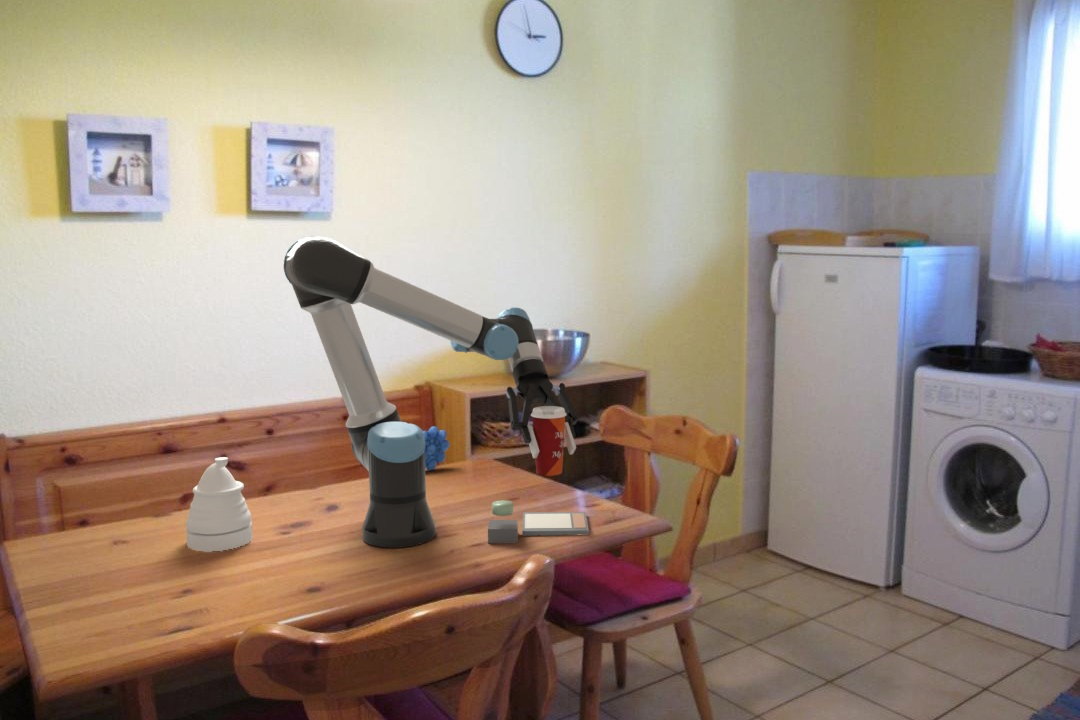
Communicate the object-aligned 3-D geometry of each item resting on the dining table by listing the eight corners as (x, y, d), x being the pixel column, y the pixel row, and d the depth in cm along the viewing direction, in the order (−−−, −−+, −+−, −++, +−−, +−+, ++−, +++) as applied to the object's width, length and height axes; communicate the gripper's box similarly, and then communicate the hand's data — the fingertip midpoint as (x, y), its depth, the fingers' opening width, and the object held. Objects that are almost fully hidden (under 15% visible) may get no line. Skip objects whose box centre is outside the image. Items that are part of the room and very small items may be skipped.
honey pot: (265, 538, 190) (261, 454, 187) (213, 556, 179) (208, 468, 177) (226, 528, 197) (221, 447, 195) (174, 544, 186) (168, 459, 184)
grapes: (442, 464, 251) (441, 421, 249) (453, 469, 245) (452, 425, 243) (404, 470, 245) (402, 426, 243) (414, 475, 239) (413, 431, 237)
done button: (491, 516, 186) (491, 506, 185) (492, 509, 190) (492, 500, 190) (513, 515, 186) (513, 506, 185) (513, 509, 190) (513, 500, 190)
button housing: (488, 543, 185) (487, 529, 185) (489, 533, 191) (489, 520, 191) (517, 542, 186) (517, 528, 185) (517, 533, 191) (517, 519, 191)
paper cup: (567, 477, 191) (566, 412, 189) (530, 477, 191) (530, 412, 189) (566, 467, 199) (566, 405, 197) (531, 467, 199) (531, 405, 197)
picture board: (522, 535, 190) (522, 530, 190) (523, 516, 203) (523, 511, 203) (588, 534, 190) (588, 529, 190) (585, 516, 203) (585, 511, 203)
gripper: (565, 374, 210) (594, 457, 198) (481, 380, 203) (505, 467, 190) (574, 354, 205) (604, 438, 192) (487, 360, 198) (512, 447, 185)
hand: (554, 452), depth 191 cm, fingers closed on paper cup, 8 cm apart
